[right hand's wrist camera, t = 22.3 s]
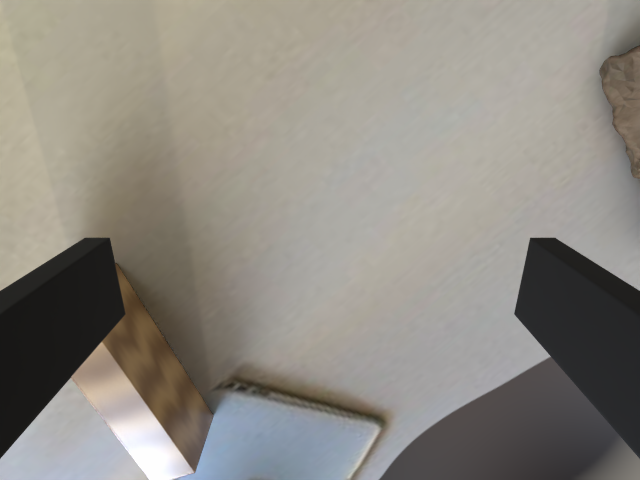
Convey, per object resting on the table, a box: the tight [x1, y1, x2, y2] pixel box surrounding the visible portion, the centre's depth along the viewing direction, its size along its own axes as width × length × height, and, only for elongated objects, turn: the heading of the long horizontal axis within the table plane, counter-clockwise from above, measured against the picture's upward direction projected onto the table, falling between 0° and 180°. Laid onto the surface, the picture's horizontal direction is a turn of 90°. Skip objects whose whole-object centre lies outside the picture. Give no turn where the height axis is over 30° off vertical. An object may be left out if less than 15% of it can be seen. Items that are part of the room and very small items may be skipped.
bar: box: [71, 263, 213, 480], centre depth 44 cm, size 24×6×8 cm, turn 21°
